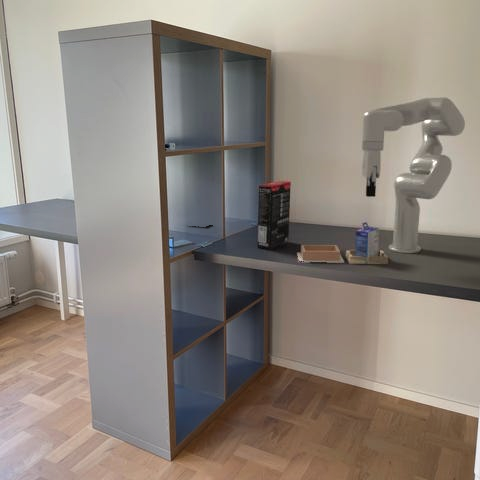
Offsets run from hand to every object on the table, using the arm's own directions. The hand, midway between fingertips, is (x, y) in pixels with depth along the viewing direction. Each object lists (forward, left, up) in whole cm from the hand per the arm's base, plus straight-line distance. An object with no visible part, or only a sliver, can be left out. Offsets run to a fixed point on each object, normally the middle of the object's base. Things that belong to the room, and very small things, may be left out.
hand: (370, 196), depth 184 cm
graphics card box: (-23, -35, -25) cm, 49 cm away
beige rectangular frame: (0, 0, -25) cm, 25 cm away
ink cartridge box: (0, 0, -25) cm, 25 cm away
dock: (-2, -18, -25) cm, 31 cm away
